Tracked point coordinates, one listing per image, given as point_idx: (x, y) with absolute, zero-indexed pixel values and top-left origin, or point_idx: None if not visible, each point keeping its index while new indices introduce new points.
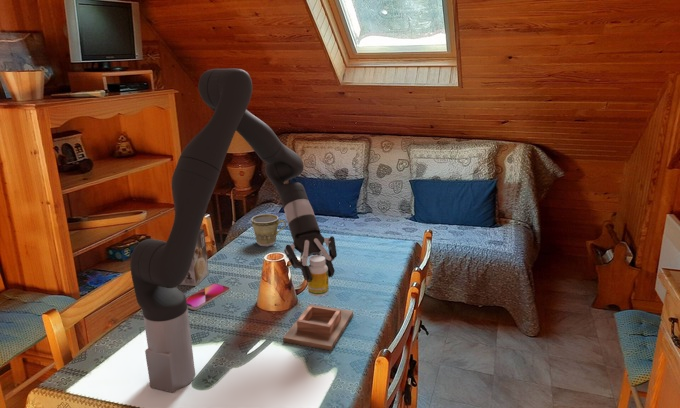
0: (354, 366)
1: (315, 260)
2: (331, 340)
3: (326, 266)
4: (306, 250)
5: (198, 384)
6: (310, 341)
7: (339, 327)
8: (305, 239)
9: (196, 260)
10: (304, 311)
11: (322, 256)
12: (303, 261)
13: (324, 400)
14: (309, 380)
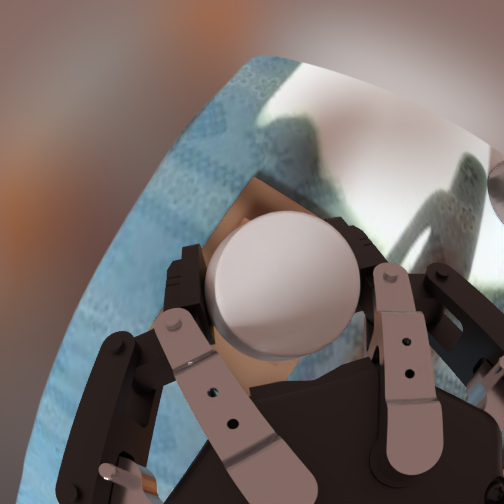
0: (219, 119)
1: (317, 242)
2: (246, 200)
3: (217, 262)
4: (404, 357)
5: (479, 169)
6: (301, 210)
7: (208, 256)
8: (411, 501)
9: None
10: (288, 372)
11: (233, 312)
12: (402, 285)
13: (297, 64)
14: (317, 107)
